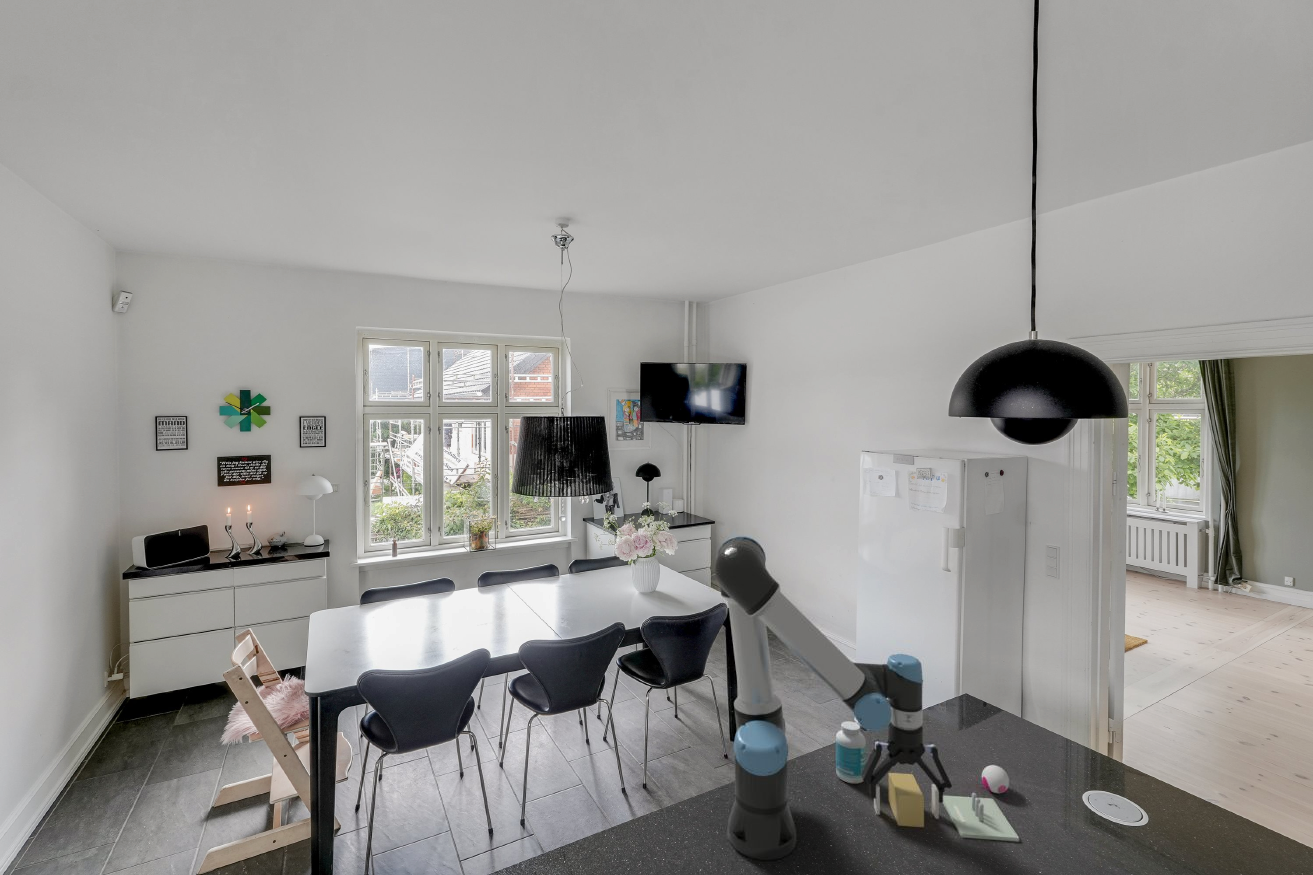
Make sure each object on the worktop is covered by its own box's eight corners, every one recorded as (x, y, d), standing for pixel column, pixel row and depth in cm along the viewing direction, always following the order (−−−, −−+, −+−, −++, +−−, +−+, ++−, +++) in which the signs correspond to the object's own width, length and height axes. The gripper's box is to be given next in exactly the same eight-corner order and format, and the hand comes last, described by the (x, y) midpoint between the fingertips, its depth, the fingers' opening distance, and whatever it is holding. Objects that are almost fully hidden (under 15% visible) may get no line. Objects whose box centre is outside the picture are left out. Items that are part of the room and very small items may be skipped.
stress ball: (984, 793, 155) (968, 768, 156) (1013, 780, 153) (996, 756, 154) (989, 809, 148) (971, 784, 149) (1020, 796, 145) (1002, 770, 147)
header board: (961, 836, 134) (961, 816, 134) (940, 798, 148) (940, 779, 148) (1019, 841, 132) (1019, 820, 132) (992, 801, 146) (992, 783, 146)
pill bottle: (867, 786, 153) (867, 733, 153) (837, 783, 154) (837, 731, 154) (863, 769, 160) (863, 719, 160) (834, 766, 162) (834, 717, 162)
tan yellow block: (898, 825, 138) (898, 795, 138) (888, 800, 147) (888, 772, 147) (923, 827, 137) (923, 796, 137) (912, 802, 146) (912, 774, 146)
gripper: (854, 728, 140) (855, 819, 140) (966, 733, 136) (967, 827, 137) (848, 712, 147) (849, 799, 148) (954, 717, 144) (955, 806, 144)
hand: (905, 812), depth 142 cm, fingers open, 12 cm apart
